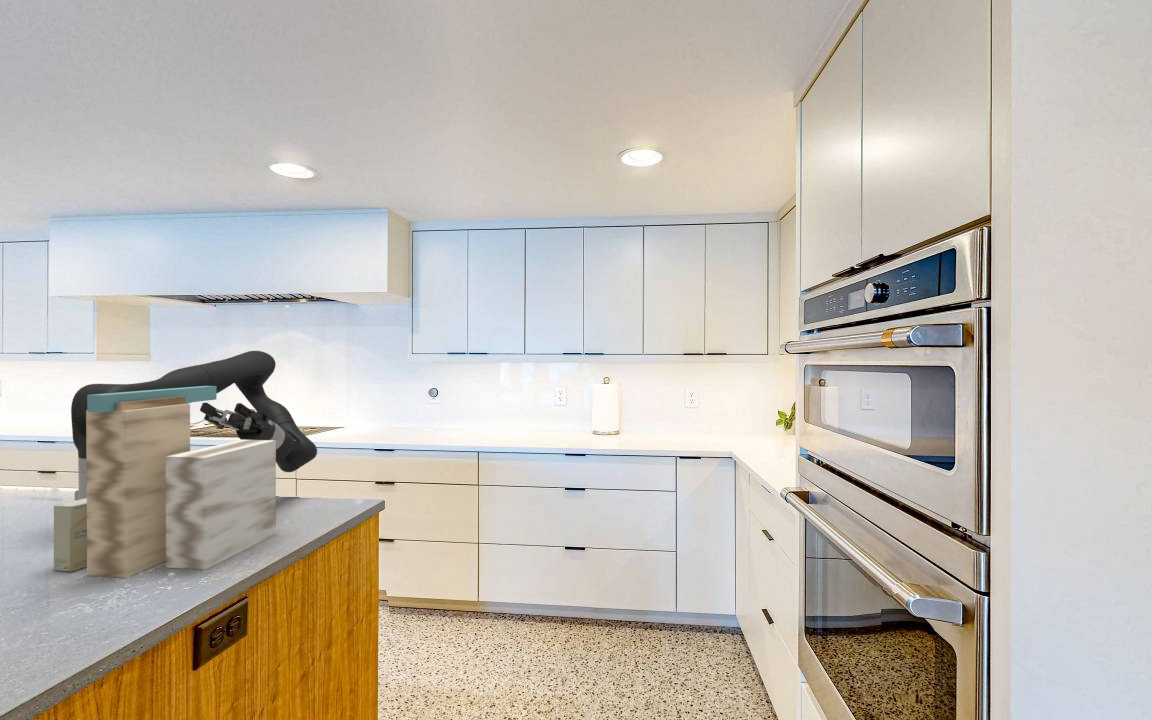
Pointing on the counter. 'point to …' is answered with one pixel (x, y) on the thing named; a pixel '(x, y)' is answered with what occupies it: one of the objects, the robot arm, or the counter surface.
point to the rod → (148, 397)
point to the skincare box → (70, 535)
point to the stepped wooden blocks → (171, 491)
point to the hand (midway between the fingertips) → (219, 406)
